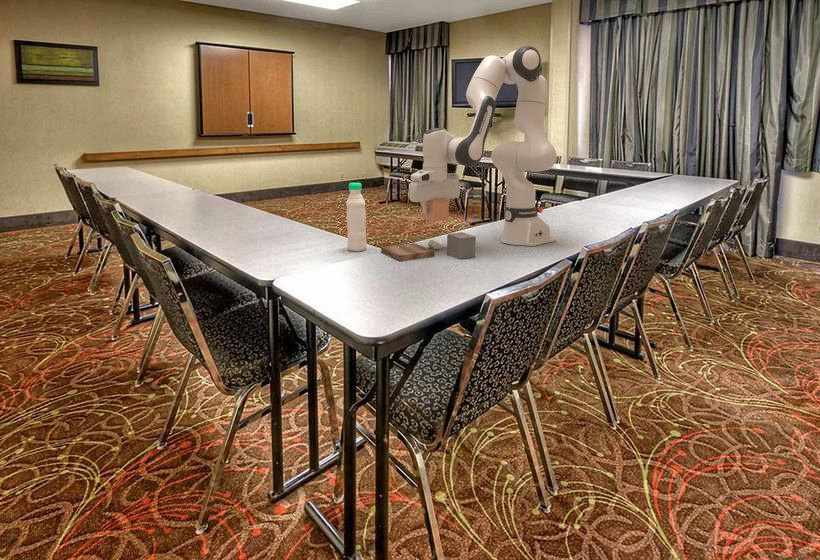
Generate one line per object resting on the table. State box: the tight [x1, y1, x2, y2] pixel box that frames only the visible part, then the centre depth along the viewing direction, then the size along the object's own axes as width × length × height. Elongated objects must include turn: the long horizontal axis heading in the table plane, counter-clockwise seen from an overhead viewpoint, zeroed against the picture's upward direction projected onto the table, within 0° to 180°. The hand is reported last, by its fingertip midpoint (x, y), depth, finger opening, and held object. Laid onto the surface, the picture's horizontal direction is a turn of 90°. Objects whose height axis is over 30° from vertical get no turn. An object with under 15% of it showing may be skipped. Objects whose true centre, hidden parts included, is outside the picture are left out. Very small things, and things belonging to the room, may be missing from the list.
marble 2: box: [432, 241, 441, 250], centre depth 196 cm, size 3×3×3 cm
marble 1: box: [427, 239, 436, 249], centre depth 198 cm, size 3×3×3 cm
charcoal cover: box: [446, 231, 477, 260], centre depth 186 cm, size 6×9×8 cm
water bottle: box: [345, 182, 368, 252], centre depth 193 cm, size 7×7×25 cm
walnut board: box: [380, 242, 436, 262], centre depth 188 cm, size 14×15×2 cm
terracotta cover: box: [421, 199, 450, 222], centre depth 193 cm, size 6×9×8 cm
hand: (435, 212), depth 193 cm, fingers closed on terracotta cover, 6 cm apart
